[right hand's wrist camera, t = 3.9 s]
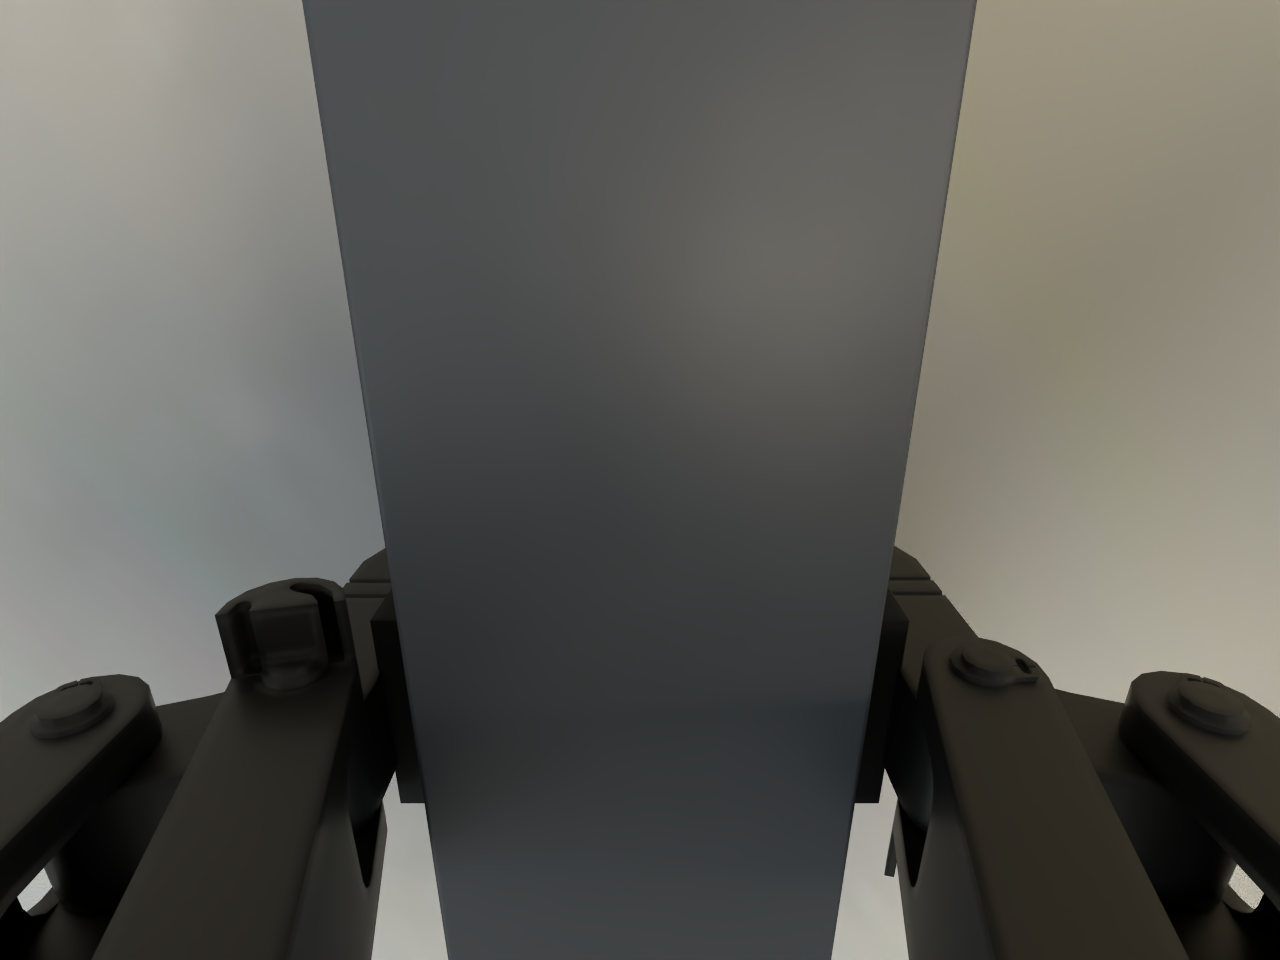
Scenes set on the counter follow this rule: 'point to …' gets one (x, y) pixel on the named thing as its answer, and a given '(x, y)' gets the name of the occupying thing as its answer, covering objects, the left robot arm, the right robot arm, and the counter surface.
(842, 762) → the beam
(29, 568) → the counter surface
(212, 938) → the right robot arm
